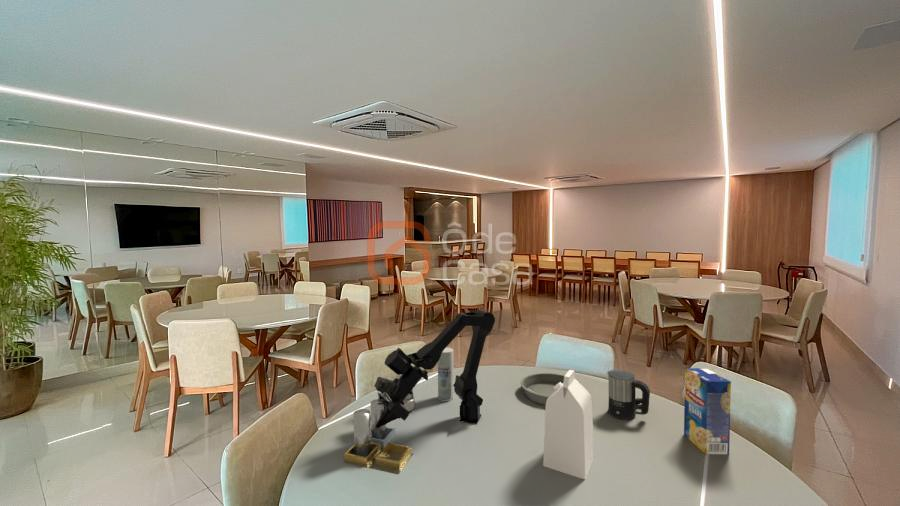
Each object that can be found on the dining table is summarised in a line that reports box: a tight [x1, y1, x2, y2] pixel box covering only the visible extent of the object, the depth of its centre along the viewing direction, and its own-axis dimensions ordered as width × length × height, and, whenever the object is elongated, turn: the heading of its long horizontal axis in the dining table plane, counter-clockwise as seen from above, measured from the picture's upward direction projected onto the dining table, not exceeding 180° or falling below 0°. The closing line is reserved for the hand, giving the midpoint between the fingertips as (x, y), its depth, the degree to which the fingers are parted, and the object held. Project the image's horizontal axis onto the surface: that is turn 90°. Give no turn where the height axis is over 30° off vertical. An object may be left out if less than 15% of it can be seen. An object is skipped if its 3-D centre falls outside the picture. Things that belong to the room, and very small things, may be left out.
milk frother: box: [607, 369, 651, 420], centre depth 136 cm, size 14×16×15 cm
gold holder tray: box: [342, 442, 414, 475], centre depth 108 cm, size 18×10×3 cm, turn 71°
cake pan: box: [520, 372, 565, 406], centre depth 152 cm, size 25×25×4 cm
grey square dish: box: [371, 426, 396, 448], centre depth 118 cm, size 8×8×3 cm
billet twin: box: [352, 408, 371, 457], centre depth 109 cm, size 5×5×13 cm
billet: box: [370, 398, 388, 440], centre depth 118 cm, size 5×5×13 cm
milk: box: [542, 369, 595, 480], centre depth 106 cm, size 12×12×26 cm
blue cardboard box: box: [683, 367, 732, 455], centre depth 114 cm, size 7×11×22 cm, turn 177°
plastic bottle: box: [396, 374, 416, 412], centre depth 139 cm, size 6×7×20 cm
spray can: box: [437, 346, 455, 402], centre depth 148 cm, size 6×6×20 cm
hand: (374, 422), depth 117 cm, fingers open, 6 cm apart
